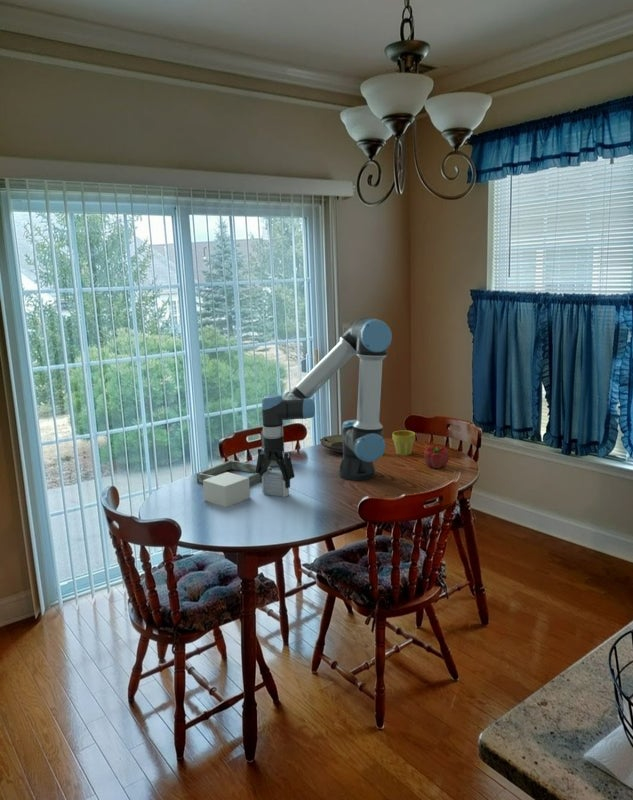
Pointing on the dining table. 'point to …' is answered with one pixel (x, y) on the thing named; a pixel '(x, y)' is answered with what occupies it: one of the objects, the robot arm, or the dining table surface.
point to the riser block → (226, 489)
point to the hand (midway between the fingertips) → (275, 493)
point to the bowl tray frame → (227, 466)
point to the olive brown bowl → (333, 443)
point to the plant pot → (403, 441)
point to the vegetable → (436, 456)
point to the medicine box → (273, 483)
